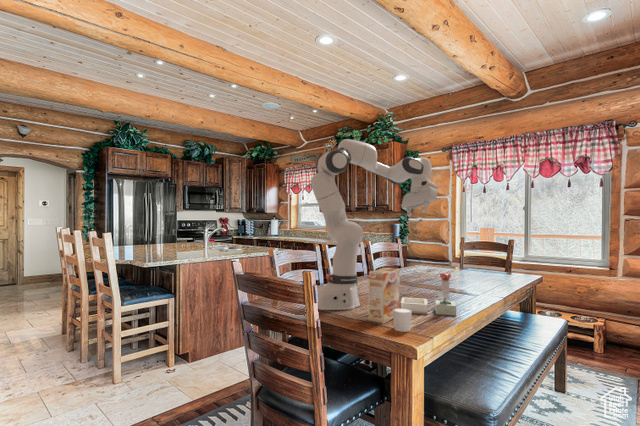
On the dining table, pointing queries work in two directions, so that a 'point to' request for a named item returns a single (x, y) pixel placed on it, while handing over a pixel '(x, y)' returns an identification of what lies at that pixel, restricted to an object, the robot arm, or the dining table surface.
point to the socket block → (445, 308)
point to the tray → (415, 305)
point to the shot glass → (402, 319)
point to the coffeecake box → (383, 294)
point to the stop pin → (445, 287)
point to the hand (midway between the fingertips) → (416, 213)
